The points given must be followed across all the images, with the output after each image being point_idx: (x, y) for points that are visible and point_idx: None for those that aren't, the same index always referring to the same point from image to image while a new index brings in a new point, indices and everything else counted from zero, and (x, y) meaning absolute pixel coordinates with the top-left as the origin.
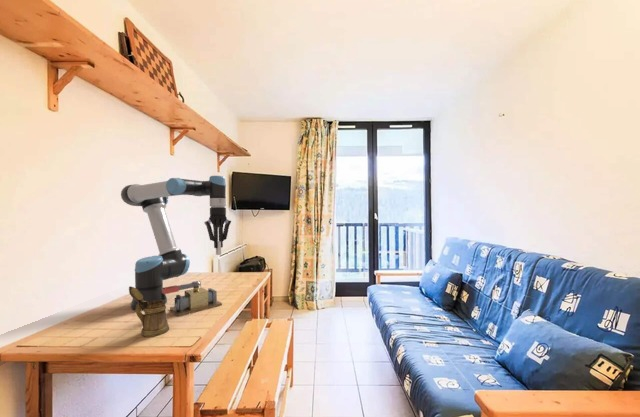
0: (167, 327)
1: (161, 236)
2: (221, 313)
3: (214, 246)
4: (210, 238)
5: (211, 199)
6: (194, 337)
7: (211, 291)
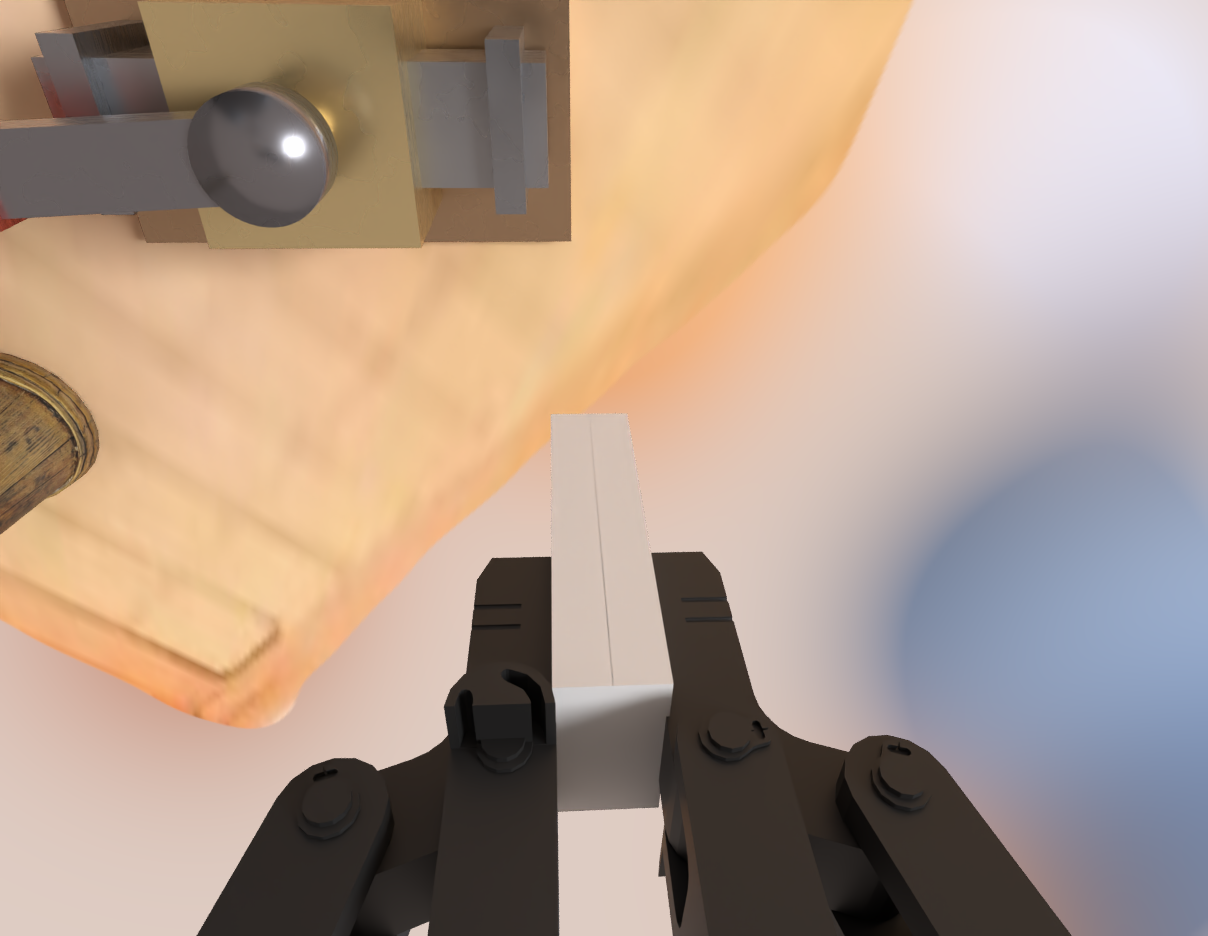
0: (80, 472)
1: None
2: (484, 415)
3: (478, 614)
4: (276, 871)
5: None
6: (246, 618)
7: (493, 158)
